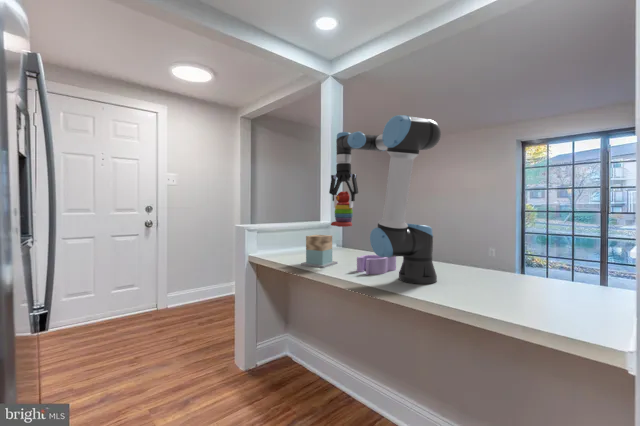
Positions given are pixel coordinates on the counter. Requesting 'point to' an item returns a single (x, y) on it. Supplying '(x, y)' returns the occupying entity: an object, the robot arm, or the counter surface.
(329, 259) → the tower base
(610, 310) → the counter surface
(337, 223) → the stacking bear
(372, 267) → the clip
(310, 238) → the oak brick
